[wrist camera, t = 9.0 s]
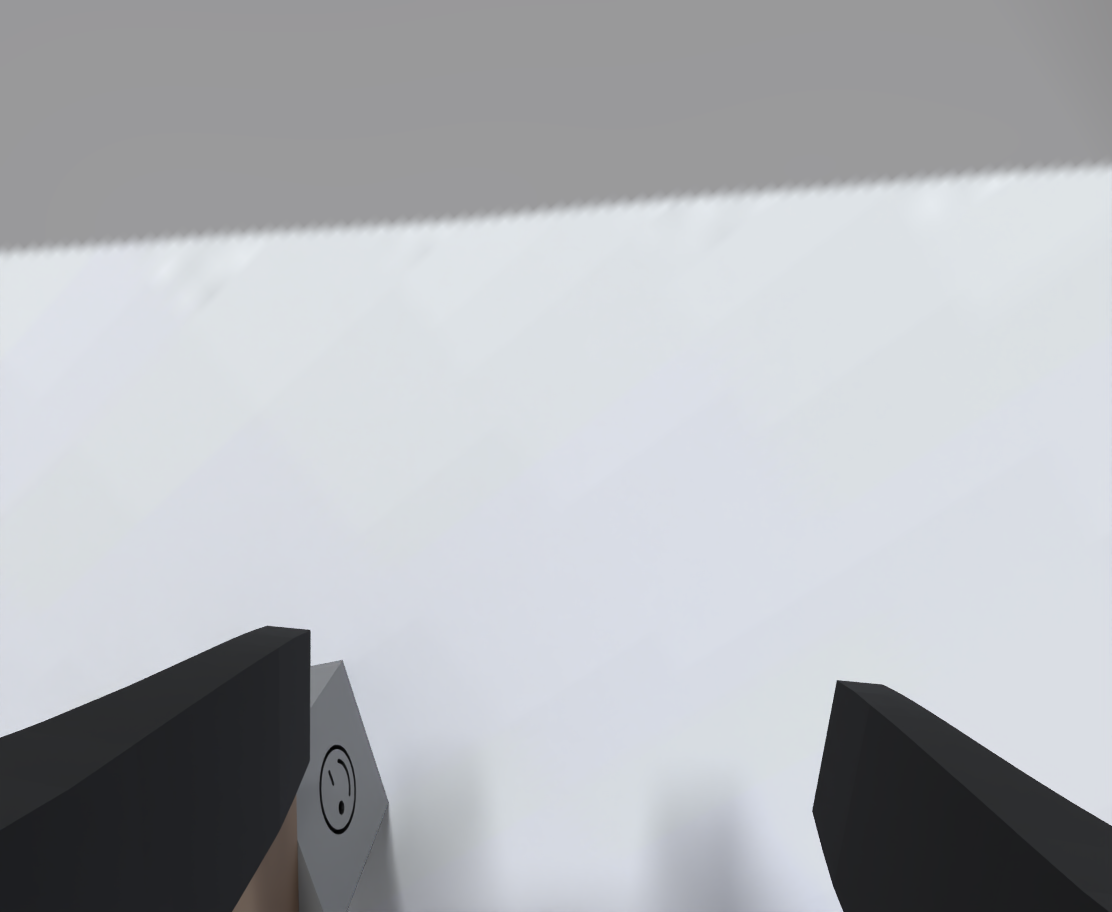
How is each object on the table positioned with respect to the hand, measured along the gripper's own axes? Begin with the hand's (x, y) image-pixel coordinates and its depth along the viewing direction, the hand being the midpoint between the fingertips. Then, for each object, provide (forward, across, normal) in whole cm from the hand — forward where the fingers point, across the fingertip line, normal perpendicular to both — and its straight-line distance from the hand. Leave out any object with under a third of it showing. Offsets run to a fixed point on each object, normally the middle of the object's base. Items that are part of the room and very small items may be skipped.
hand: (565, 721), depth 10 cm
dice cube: (+11, +8, +9) cm, 16 cm away
